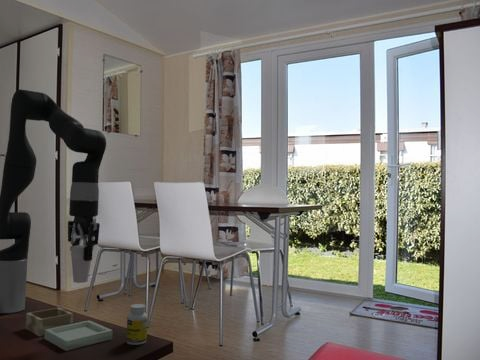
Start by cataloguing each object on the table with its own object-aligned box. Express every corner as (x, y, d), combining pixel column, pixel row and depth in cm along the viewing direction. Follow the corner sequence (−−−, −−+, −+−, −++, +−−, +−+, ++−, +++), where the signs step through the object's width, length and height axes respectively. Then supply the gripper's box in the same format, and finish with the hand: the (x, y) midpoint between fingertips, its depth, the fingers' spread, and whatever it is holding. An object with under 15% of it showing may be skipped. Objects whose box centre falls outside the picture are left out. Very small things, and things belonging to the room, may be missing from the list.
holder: (25, 328, 120) (26, 313, 120) (58, 322, 127) (58, 307, 128) (39, 336, 114) (39, 319, 114) (72, 329, 121) (73, 313, 121)
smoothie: (84, 284, 110) (86, 231, 111) (63, 282, 111) (65, 231, 112) (97, 280, 116) (99, 230, 117) (77, 278, 117) (79, 229, 118)
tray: (44, 338, 112) (44, 329, 112) (88, 328, 122) (89, 320, 122) (65, 350, 104) (66, 341, 104) (112, 339, 113) (112, 330, 113)
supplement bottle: (122, 343, 110) (123, 306, 110) (133, 337, 115) (135, 302, 115) (139, 346, 108) (140, 309, 108) (150, 340, 113) (151, 304, 114)
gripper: (59, 198, 117) (56, 257, 116) (84, 199, 107) (81, 263, 106) (84, 199, 122) (82, 255, 121) (110, 199, 113) (107, 261, 112)
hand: (81, 259), depth 114 cm, fingers closed on smoothie, 6 cm apart
